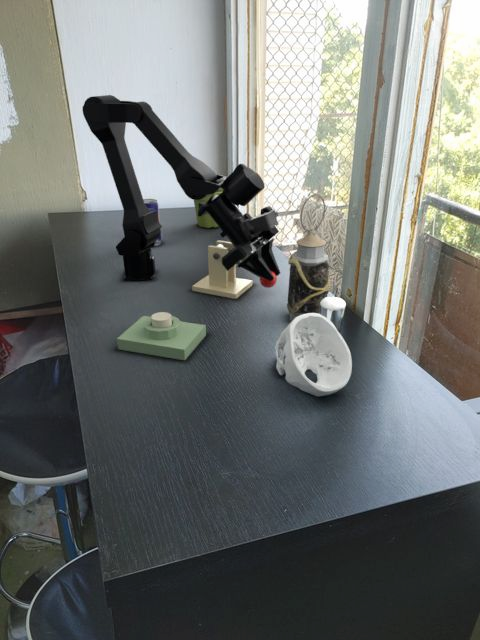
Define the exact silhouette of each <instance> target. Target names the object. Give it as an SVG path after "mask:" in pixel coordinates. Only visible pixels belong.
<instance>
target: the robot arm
mask: <svg viewBox="0 0 480 640" xmlns="http://www.w3.org/2000/svg"><path fill="white" fill-rule="evenodd" d="M82 115H83V117H84V118H83V119H84V120H85V122H86V124H87V126H88V128H89V131H90V132H91V133H92V135H94V136H95V137H96V139H97V140H98V141H99V142H100V143H101V145H102V149H103V150H104V155H105V157H106V160H107V164H108V167H109V169H110V172H111V175H112V178H113V181H114V182H113V183H114V184H115V188H116V191H117V193H118V194H117V195H118V197H119V201H120V203H121V206H122V210H123V216H122V223H121V224H122V231H123V236H124V237H123V238H122V239H121V240H120V241H119V242H118V243H117V245H116V246H115V249H116V252H117V254H118V256H122V260H123V269H124V276H123V281H152V280H153V277H154V275H155V273H156V261H155V256H154V254H152V248H155V247H156V246H155V242H156V241H157V240H158V238H159V236H160V235H161V234H162V233H161V232H162V230H161V228H162V227H163V225H162V224H161V221H160V222H159V220H158V214H157V211H156V210H154V211H152V212H151V211H150V210H149V209H148V208H147V206H146V205H145V203H144V200H143V199H144V198H143V194H142V191H141V188H140V185H139V181H138V178H137V175H136V172H135V169H134V165H133V162H132V158H131V155H130V152H129V150H128V149H129V148H128V146H127V142H126V140H125V139H126V137H125V136H126V135H125V133H126V127H127V123H128V124H129V123H130V124H133V125H134V126H135V127H136V128H137V129H138V130H139V131H140V133H141V134H142V135H143V137H145V139H147V141H148V142H149V143H150V144H151V146H152V147H154V149H155V150H156V151H157V153H159V154H160V155H161V157H162V158H163V159H164V160H165V162H167V164H168V165H169V166H170V167H171V169H172V170H173V172H174V175H175V179H176V182H177V183H178V185H179V186H180V188H181V189H182V191H183V192H184V194H185V195H186V196H187V197H188V198H189V199H191V200H193V201H194V200H199V199H202V198H204V197H206V196H208V195H210V194H214V193H216V192H217V191H219V190H221V189H223V190H224V191H223V192H222V193H221V194H220V195H212V196H211V197H210V198H209V199H208V200H207V201H206V202H201V203H199V204H198V206H199V209H198V216H199V217H200V216H203V215H205V214H207V213H208V214H209V215H210V216H211V218H212V219H213V220H214V221H215V223H216V224H217V225H218V226H219V227H218V228H219V229H220V230H221V233H220V234H219V235H220V237H221V238H222V239H224V238H225V237H226V238H227V239H228V240H229V242H231V243H232V244H233V245H234V246H235V247H234V248H233V249H232V250H230V251H229V252H228V253H227V254H226V255H225V256H224V257H223V258H222V265H223V266H224V267H225V269H226V270H227V271H228V270H230V269H231V268H233V267H234V266H235V264H236V263H238V262H239V261H241V264H239V265H237V264H236V268H239V269H240V268H241V269H244V270H245V271H247V270H248V271H247V272H249V271H251V272H253V273H255V274H257V275H259V276H261V277H263V278H265V279H267V280H269V281H272V280H273V279H274V276H273V275H272V273H271V271H273V272H274V273H275V274H276V277H277V276H279V275H280V274H281V270H280V267H279V266H278V262H277V260H276V257H275V255H274V252H273V243H274V240H275V238H274V237H275V236H276V235H277V234H278V233H279V232H280V231H279V229H278V228H277V227H276V226H278V225H279V222H278V221H279V220H278V219H277V217H279V213H278V212H277V211H276V210H275V209H274V208H272V207H271V206H270V205H268V206H264V207H262V208H261V209H260V214H258V215H255V216H251V214H250V213H248V212H246V213H243V212H242V211H241V210H240V208H239V207H238V206H239V205H240V206H241V207H246V206H247V205H248V204H249V203H250V202H251V201H252V200H254V199H255V198H256V196H258V195H259V194H260V193H261V192H262V191H263V190H264V189H265V182H264V180H263V179H262V177H261V176H260V174H259V173H258V172H255V170H254V169H252V168H251V167H248V166H247V165H246V164H245V162H240V163H239V164H238V165H236V167H235V168H234V170H233V171H232V172H231V173H230V174H229V175H228V176H225V175H223V174H217V173H216V172H215V171H214V170H213V169H212V168H211V167H210V166H209V165H208V164H206V163H205V162H204V161H202V160H201V159H199V158H197V157H195V156H194V155H193V154H192V153H190V152H189V151H188V150H187V148H185V147H184V145H183V144H182V143H181V141H179V139H178V138H177V137H176V136H175V135H174V134H173V132H172V131H171V130H170V129H169V128H168V126H167V125H166V124H165V123H164V122H163V121H162V120H161V118H159V116H158V115H157V113H156V112H155V111H154V110H153V108H152V106H151V104H149V103H148V102H146V101H131V100H120V99H119V98H117V97H116V96H115V95H112V94H106V95H94V96H89V97H87V98H86V100H84V103H83V105H82ZM161 236H162V235H161ZM270 270H271V271H270ZM251 272H250V273H251ZM253 273H252V274H253Z"/></svg>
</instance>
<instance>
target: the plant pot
mask: <svg viewBox="0 0 480 640" xmlns="http://www.w3.org/2000/svg"><path fill="white" fill-rule="evenodd" d="M223 191H224V190H223V189H221V190H219V191H217V192H216V193H214V194H210V195H208V196H206V197H204V198H202V199H199V200H194V199H193V204H194V210H195V215H196V221H197V225H198V226H199V227H201V228H204V229H205V228H206V229H210V228H219V226H218V225H217V224H216V223H215V221H214V220H213V219H212V218H211V216H210V215H209V214H208V213H207V214H205V215H203V216H200V217H199V216H198V209H199V206H198V204H199V203H201V202H206V201H207V200H208V199H209V198H210V197H211V196H212V195H220V194H221V193H222V192H223Z"/></svg>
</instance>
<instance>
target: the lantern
mask: <svg viewBox="0 0 480 640" xmlns="http://www.w3.org/2000/svg"><path fill="white" fill-rule="evenodd" d="M314 196H317V197H319V198H320V199H321V201H322V204H323V213H322V217H321V220H320V222H319V223H318V224H317V226H316V227H314V228H310V229H307V228H306V227H305V226H304V224H303V223H304V222H303V212H304V209H305V206H306V204H307V202H308V201H309V200H310V199H311V198H312V197H314ZM325 202H326V201H325V200H324V198H323V197H322V195H320V194H317V193H314V194H311V195H309V196H308V198H306V199H305V201H304V202H303V204H302V206H301V207H302V208H301V211H300V224H301V227H302V229H304V231H306V232H307V234H305V235H304V236H303V237H301V238H299V239H297V240H296V241H295V243H296V244H297V249H296V251H294V252H293V253H292V254H291V255H290V256H289V258H288V262H287V263H288V265H289V278H288V279H289V280H288V290H287V303H286V308H287V311H288V313H289V321H290V322H292V321H293V320H294V319H295V318H296V317H297V316H300V315H303V314H307V313H318V314H320V302H321V301H322V300H323V299H324V298H326V297H328V294H329V292H330V288H328V287H329V286H330V282H331V281H330V271H329V268H330V265H329V263H328V261H329V260H330V258H329V256H328V254H326V253H325V245H326V244H327V241H325V240H324V239H322V238H320V237H319V236H318V235H317V234H316V231H315V230H317V229H318V228H319V227H320V226H321V224H322V222H323V221H324V218H325V214H326V203H325ZM320 315H321V314H320Z"/></svg>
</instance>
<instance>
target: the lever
mask: <svg viewBox="0 0 480 640" xmlns="http://www.w3.org/2000/svg"><path fill="white" fill-rule="evenodd" d="M218 247H225V248H228V247H226V246H224V245H222V244H219V245H218ZM230 250H231V249H229V248H228V252H229V251H230ZM239 264H241V261H239V262H238V263H236V266H238V265H239ZM246 271H247V272H249V273H251V274H253V275H254V276H256V277H258V278H259V283H260V285H261V286H262V287H264V288H268V289H269V288H273V287H274V286H276V283H277V280H278V277H277V276H276V274H275V273H274V272H273V271H271V270H270V271H271V273H272V275H273V276H274V279H273V280H272V281H269V280H267V279H265V278H263V277H261V276H259V275H257V274H255V273H253V272H251V271H248V270H246Z"/></svg>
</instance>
